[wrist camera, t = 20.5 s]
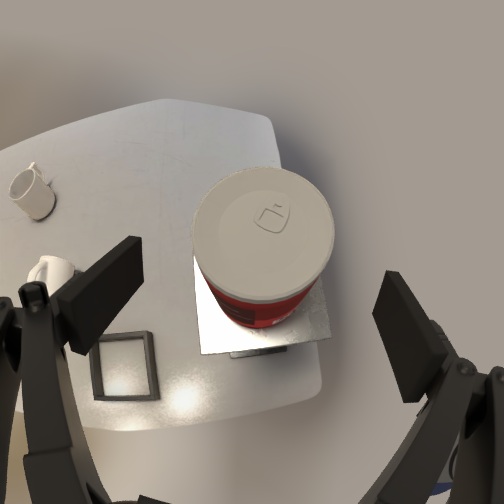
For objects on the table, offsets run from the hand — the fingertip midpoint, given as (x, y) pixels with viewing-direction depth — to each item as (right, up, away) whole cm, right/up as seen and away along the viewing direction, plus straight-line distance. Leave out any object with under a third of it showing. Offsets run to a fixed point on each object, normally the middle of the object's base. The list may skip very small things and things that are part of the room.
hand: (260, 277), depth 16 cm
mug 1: (-54, +15, +49) cm, 75 cm away
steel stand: (0, -12, +38) cm, 40 cm away
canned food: (0, -1, +11) cm, 11 cm away
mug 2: (-41, -7, +41) cm, 58 cm away
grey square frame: (-24, -20, +35) cm, 47 cm away
